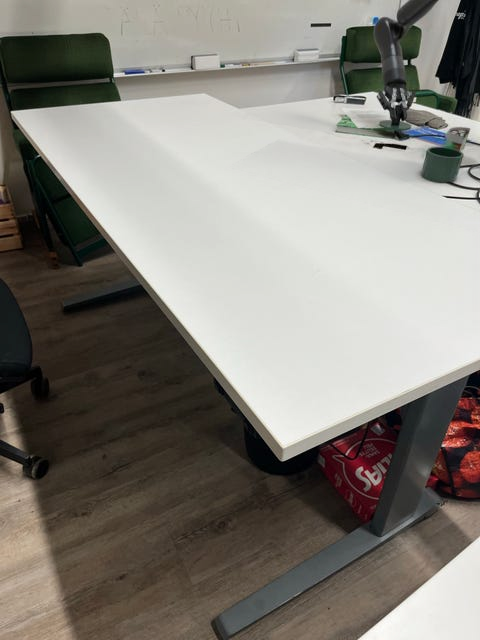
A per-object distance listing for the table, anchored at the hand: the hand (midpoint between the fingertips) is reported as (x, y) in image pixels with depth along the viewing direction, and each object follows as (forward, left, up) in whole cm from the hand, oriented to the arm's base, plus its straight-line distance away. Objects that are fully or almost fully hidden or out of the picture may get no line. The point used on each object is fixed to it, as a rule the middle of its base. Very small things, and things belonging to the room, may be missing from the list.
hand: (399, 119), depth 163 cm
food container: (-19, +6, -10) cm, 22 cm away
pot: (-17, +23, -10) cm, 30 cm away
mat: (+1, -2, -10) cm, 10 cm away
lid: (+1, -2, -3) cm, 3 cm away
